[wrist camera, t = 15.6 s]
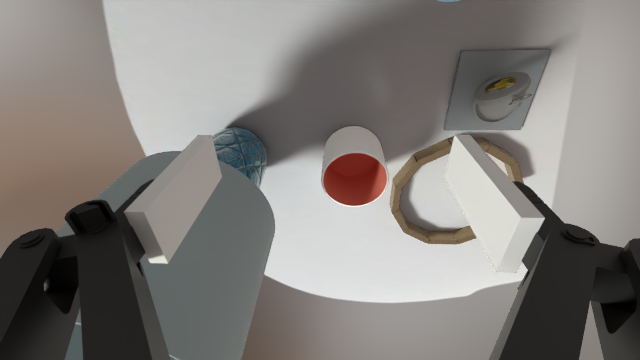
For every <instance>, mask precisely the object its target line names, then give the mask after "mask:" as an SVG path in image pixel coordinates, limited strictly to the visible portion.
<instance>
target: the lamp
mask: <svg viewBox="0 0 640 360" xmlns="http://www.w3.org/2000/svg"><path fill="white" fill-rule="evenodd" d="M212 139H213V143H214V147H215V151H216V155H217V159H218V163H219V167H220V171H221V174H222V178H221V180H220V181H219V183H218V184H217V186H216V188H215V189H214V191H213V192H212V194H211V196H210V197H209V199H208V200H207V202H206V204H205V205H204V207H203V208H202V210H201V212H200V213H199V215H198V216H197V218H196V220H195V221H194V223H193V224H192V226H191V228H190V229H189V231H188V232H187V234H186V236H185V237H184V239H183V240H182V242H181V244H180V245H179V247H178V248H177V250H176V252H175V253H174V255H173V256H172V258H171V260H170V261H169V263H168V264H166V263H150V262H149V260H148V258H147V256H146V254H144V255H143V257H142V258H141V259H140V262H141V264H142V266H143V269H144V273H145V276H146V279H147V283H148V286H149V289H150V293H151V296H152V299H153V303H154V306H155V309H156V313H157V316H158V319H159V323H160V326H161V329H162V333H163V336H164V339H165V343H166V346H167V349H168V353H169V356H170V359H171V360H241V358H242V354H243V350H244V346H245V343H246V339H247V335H248V331H249V327H250V324H251V320H252V316H253V312H254V309H255V305H256V301H257V297H258V293H259V290H260V286H261V282H262V279H263V275H264V271H265V267H266V263H267V260H268V256H269V252H270V248H271V245H272V241H273V237H274V233H275V220H274V215H273V212H272V209H271V206H270V204H269V202H268V201H267V199H266V197H265V196H264V194H263V193H262V192H261V190H260V189H259V188H260V185H261V182H262V179H263V176H264V173H265V169H266V164H267V152H266V149H265V146H264V144H263V143H262V141H261V140H260V139H259V137H258V136H256V135H255V134H254V133H252V132H251V131H249V130H246V129H243V128H234V127H233V128H227V129H224V130H222V131H220V132H218V133H217V134H215V135H214V136H212ZM181 152H182V151H170V152H162V153H157V154H153V155H150V156H148V157H146V158H143V159H142V160H140V161H138V162H137V163H136V164H134V165H133V166H132V167H131V168H130V169H129V170H128V171H126V172H125V173H124V174H123V175H122V176H121V177H119V178H118V179H117V180H116V181H115V182H114V183H112V184H111V185H110V186H109V187H108V188H106V189H105V190H104V191H103V192H102V193H101V194H99V195H98V196H97V197H96V198H95V199H94V200H105V201H107V202H108V204H109V205H110V207H111V209H112V211H113V213H114V212H115V211H116V210H117V209H118V208H119V207H120V206H121V205H122V204H123V203H124V202H125V201H126V200H127V199H129V197H130V196H131V195H132V194H134V193H135V191H136V190H137V189H138V188H139V187H140V186H141V185H143V184H145V183H146V182H148V181H150V180H151V179H156V178H157V177H158V176H159V175H160V174H161V173H162V172H163V171H164V170H165V169H166V168H167V167H168V166H169V165H170V164H171V163H172V161H173V160H174V159H175V158H176V157H177V156H178V155H179V154H180V153H181ZM55 233H56V234H57V236H58V237H63V236H68V235H73V234H75V233H74V232H73V230H72V229H71V227H70V226H69V224H68V223H66V224H64V225H63V226H62V227H61V228H60V229H59V230H57V231H56V232H55ZM65 360H83V348H82V330H81V312H80V309H79V313H78V316H77V319H76V323H75V326H74V330H73V333H72V336H71V340H70V343H69V347H68V350H67V353H66V357H65Z"/></svg>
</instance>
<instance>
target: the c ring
mask: <svg viewBox="0 0 640 360" xmlns="http://www.w3.org/2000/svg"><path fill="white" fill-rule="evenodd" d="M474 140H475V141H476V142H477V143H478V144H479V146H480V147H481V148H482V149H483V150H484V151H485V152H487V153H489V154H491V155H492V156H494V157H496V158H497V159H499V160H501V161H502V162H504V163H505V167H506V170H507V173H508V176H509V179H510V180H511V181H519V182H521V183H523V179H522V176H521V172H520V169H519V165H518V162H517V161H516V160H515V159H514V158H513V157H512V156H511V155H510V154H508V153H507V152H505V151H504V150H502V149H500V148H499V147H497V146H495V145H494V144H492V143H490V142H489V141H487V140H485V139H474ZM452 143H453V139H448V140H447V139H446V140H443V141H441V142H439V143H437V144H435V145H432V146H430V147H428V148H426V149H424V150H422V151H419V152H417V153H415V154H414V155H412V157H411V158H410V159H409V160H408V161H407V163H406V164H405V165H404V166H403V167H402V169H401V170H400V171H399V172H398V173H397V175H396V176H395V177H394V178H393V183H392V190H391V198H390V207H391V211H392V214H393V215H394V217H395V219H396V220H397V222H398V224H399V225H400V227H401V229H402V230H403V232H404V233H406V234H408V235H410V236H412V237H415V238H417V239H419V240H421V241H423V242H425V243H428V244H457V243H458V244H460V243H463V242H466V241H469V240H472V239H475V238H477V237H476V236H475V234H474V232H473V230H472V228H471V227H470V226H467V227H464V228H462V229H459V230H456V231H426V230H424V229H422V228H420V227H418V226H416V225H414V224H412V223H410V222H408V221H406V219H405V217H404V216H403V214H402V212H401V211H400V209H399V202H400V196H401V189H402V187H403V186H404V185H405V184H406V182H407V181H408V180H409V179H410V178H411V177H412V176H413V174H414V173H415V172H416V171H417V170H418V169H419V168H420V166H422V165H424V164H426V163H428V162H431V161H433V160H435V159H437V158H440V157H442V156H444V155H447V154H449V153H450V151H451V147H452ZM523 184H524V183H523Z"/></svg>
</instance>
